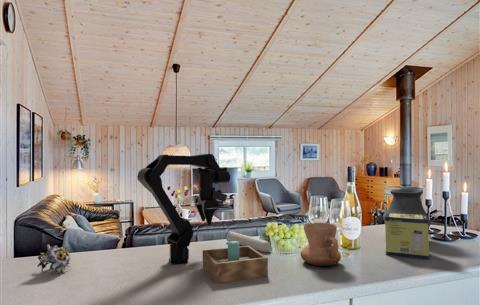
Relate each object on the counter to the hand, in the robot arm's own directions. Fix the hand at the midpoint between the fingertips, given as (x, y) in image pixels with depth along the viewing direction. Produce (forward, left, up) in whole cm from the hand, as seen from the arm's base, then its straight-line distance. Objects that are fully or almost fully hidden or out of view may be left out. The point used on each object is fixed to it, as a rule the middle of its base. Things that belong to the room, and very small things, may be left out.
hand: (206, 223), depth 137 cm
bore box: (+4, -22, -13) cm, 26 cm away
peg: (+4, -22, -13) cm, 26 cm away
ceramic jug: (+37, -26, -13) cm, 47 cm away
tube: (+21, +6, -14) cm, 25 cm away
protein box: (+76, -28, -13) cm, 82 cm away
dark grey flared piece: (+95, -10, -13) cm, 96 cm away
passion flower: (-55, -1, -13) cm, 56 cm away
